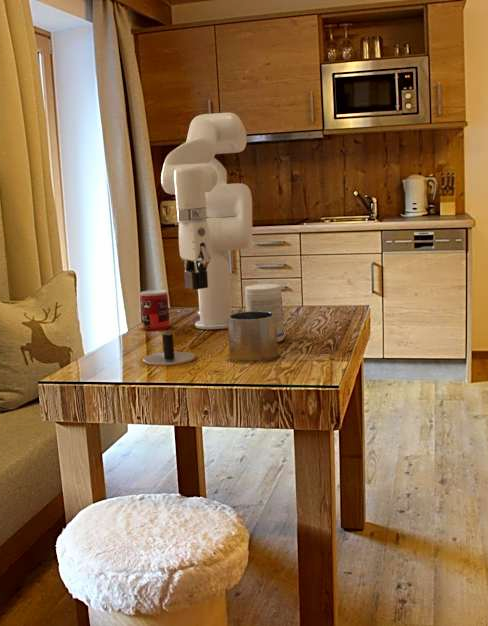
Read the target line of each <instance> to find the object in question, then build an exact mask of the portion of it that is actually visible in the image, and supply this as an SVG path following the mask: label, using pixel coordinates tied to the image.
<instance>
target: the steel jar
mask: <svg viewBox="0 0 488 626" xmlns="http://www.w3.org/2000/svg"><path fill="white" fill-rule="evenodd" d="M227 324H228V328H227V339H228V340H227V341H228V353H229V354H228V356H229V359H231V360H233V361H239V362H260V361H261V362H262V361H268V360H271V359H274V358H278V356H279V350H278V342H277V326H276V314H275V313H273V312H268V311H246V310H245V311H240V312H234V313H232V314H230V315H229V316H227Z"/></svg>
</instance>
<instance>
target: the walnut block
mask: <svg viewBox="0 0 488 626" xmlns="http://www.w3.org/2000/svg"><path fill="white" fill-rule="evenodd" d="M183 273H184V288H185V289H188V290H192V291H196V290H197V289H196V288H195V278H194V273H196V272H195V270H188V271H185V270H184V271H183ZM206 274H207V272H206ZM207 288H208V277H207ZM201 289H203V288H201Z"/></svg>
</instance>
